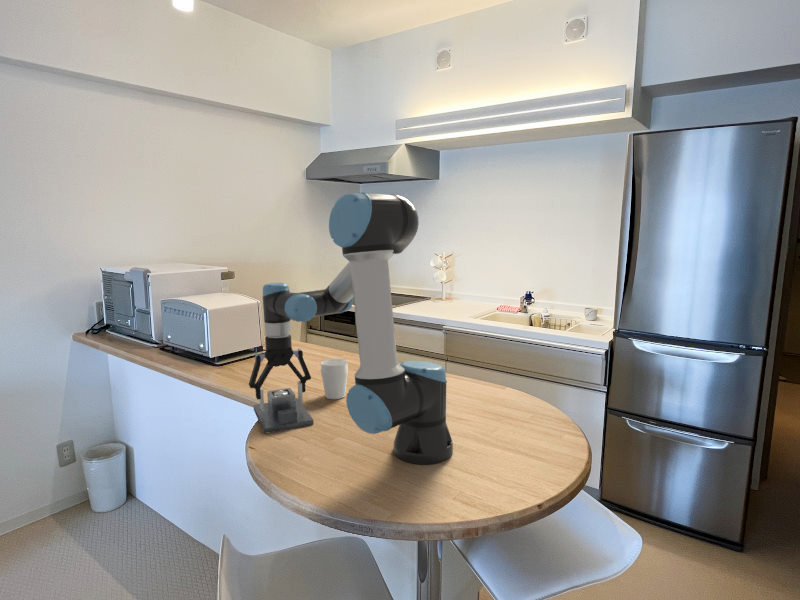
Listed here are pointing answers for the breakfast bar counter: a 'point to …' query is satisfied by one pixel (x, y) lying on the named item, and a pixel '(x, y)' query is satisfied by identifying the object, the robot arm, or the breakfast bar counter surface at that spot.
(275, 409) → the grey hollow block
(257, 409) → the shaft base
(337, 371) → the cup
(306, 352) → the breakfast bar counter surface
